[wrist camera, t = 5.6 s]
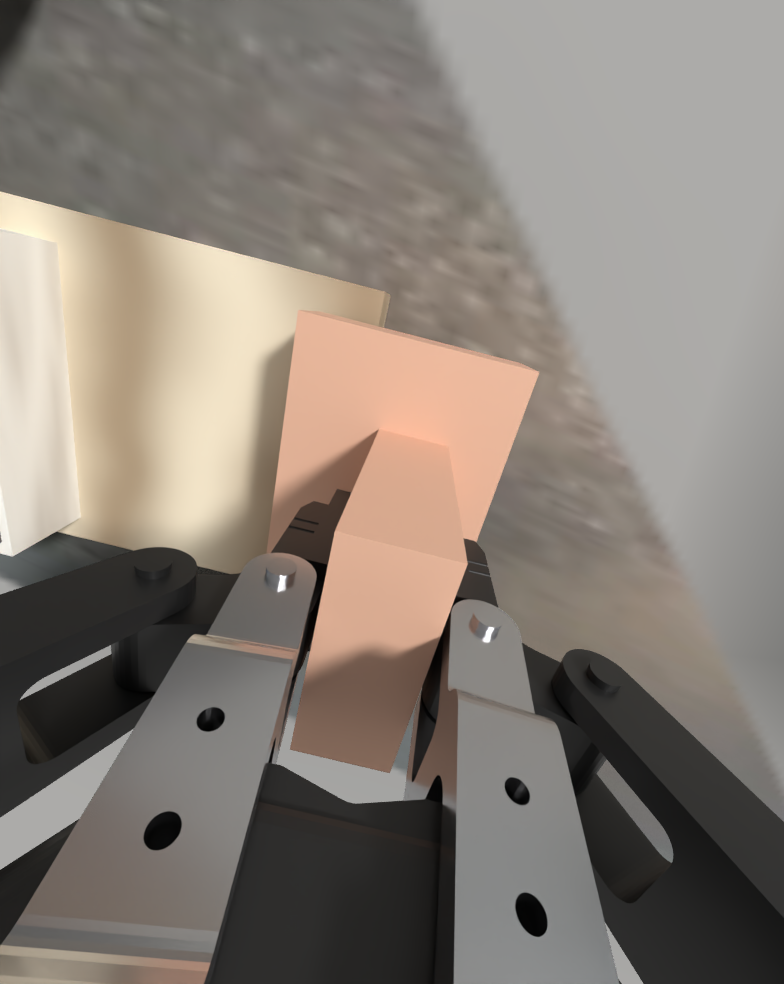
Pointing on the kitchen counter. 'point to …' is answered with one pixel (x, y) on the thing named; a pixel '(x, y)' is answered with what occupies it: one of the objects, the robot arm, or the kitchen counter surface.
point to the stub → (387, 512)
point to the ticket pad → (145, 383)
